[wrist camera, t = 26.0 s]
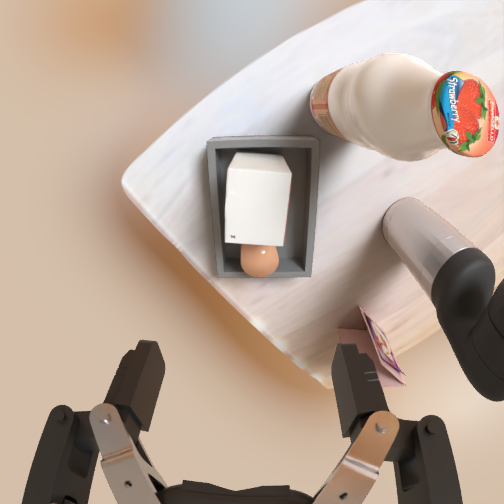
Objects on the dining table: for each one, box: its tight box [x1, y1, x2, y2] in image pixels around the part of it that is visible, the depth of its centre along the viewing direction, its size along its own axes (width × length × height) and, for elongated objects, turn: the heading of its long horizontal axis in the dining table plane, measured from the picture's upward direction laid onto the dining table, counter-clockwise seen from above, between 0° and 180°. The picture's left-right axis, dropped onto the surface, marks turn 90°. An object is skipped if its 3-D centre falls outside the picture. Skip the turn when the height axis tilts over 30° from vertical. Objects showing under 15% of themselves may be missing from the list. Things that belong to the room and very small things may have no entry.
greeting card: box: [337, 304, 406, 387], centre depth 47 cm, size 11×7×15 cm, turn 46°
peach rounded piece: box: [241, 244, 279, 278], centre depth 40 cm, size 5×5×7 cm
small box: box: [225, 150, 292, 246], centre depth 33 cm, size 8×6×13 cm
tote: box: [207, 136, 320, 278], centre depth 40 cm, size 14×20×5 cm
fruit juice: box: [310, 53, 499, 161], centre depth 22 cm, size 9×9×28 cm
